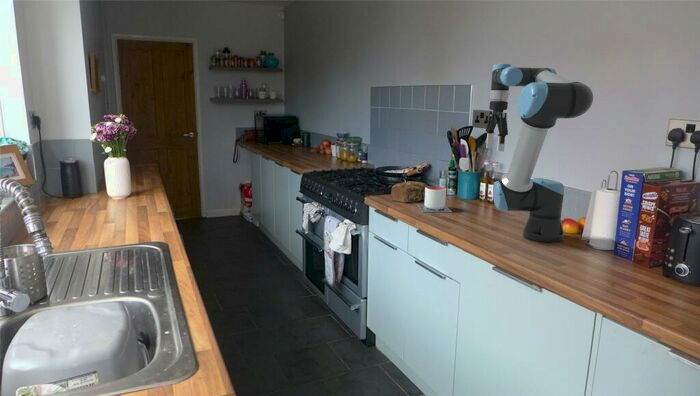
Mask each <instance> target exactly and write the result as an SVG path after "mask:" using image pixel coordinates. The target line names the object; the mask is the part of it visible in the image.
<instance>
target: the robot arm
mask: <svg viewBox="0 0 700 396" xmlns="http://www.w3.org/2000/svg"><path fill="white" fill-rule="evenodd" d="M490 85H491V86H490V94H489V95H490V96H489V99H490V101H489V110H490V111H489V116H488V119H487V123H486V128H485V132H486V133H487V136H486V147H485V149H493V148H494V139H495V138H494V136H495V129H496V126H497V130H498V134H497V136H498V138H497V148H496V149H497V150H496V152H505V143H506V136H508V135H509V130H508V129H509V128H508V121H507V120H508V119H507V116H508V114H507V112H504V111H508V107H509V106H508V105H509V102H508V100H509V95H510V92H509V91H510V87H523V89H522V90H521V91H520V94H519V97H518V101H517V106H516V107H517V113H518V115H519V117H520V121H521V122H522V127H521V128H520V132H519V135H518V139H517V140H516V141H517V142H516V145H515V148H514V150H513V151H514V152H513V155H512V158H511V160H510V161H511V162H510V164H509V167H508V171H507V172H506V173H504V174H503V175H502V176H501V180H497V181H495V182H493V184H492V197H493V204H494V207H495V208H496V209H497V210H498V211H501V212H502V211H503V212H528V213H529V215H528V218H527V220H526V222H525V225H524V227H523V228H522V236H523V237H524V238H526V239H530V240H532V241H536V242H544V243H558V242H562V241H563V240H564V236H565V234H564V229H563V225H562V220H561V218H562V213H563V211H562V210H563V203H564V196H565V185H564V184H563V183H562V182H559V181H556V180H552V179H549V178H548V179H547V178H542V177H534V178H533V177H532V176H533V173H534V171H535V167H536V165H537V162H538V159H539V157H540V154H541V150H542V149H543V146H544V143H545V140H546V137H547V134H548V131H549V130H550V129H552V128H554V127H555V125H556V123H557V120H558V119H574V118H579V117H580V116H582V115H583V114H586V112H588V111H589V109H590V108H591V106H592V104H593V102H594V94H593V91H592V89H591V88H590V86H588V85H587V84H584V83H583V82H580V81H571V80H568V79H566V78H565V77H563V76H560V75H558V73H557V71H556V69H554V68H551V67H523V66H522V67H516V66H511V63H495V64H494V65H492V70H491V83H490ZM491 110H492V111H491ZM532 178H533V179H532Z"/></svg>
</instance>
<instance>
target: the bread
mask: <svg viewBox="0 0 700 396" xmlns="http://www.w3.org/2000/svg"><path fill="white" fill-rule="evenodd" d="M426 187H428V185H427V184H426V183H425V182H421V181H412V180H411V181H410V180H408V181H403V182H397V183H395V184H394V185H393V186H392V187H391V192H390V193H391V200H393V201H394V202H399V203H401V204H407V203H412V202H419V201H423V200H425V188H426Z"/></svg>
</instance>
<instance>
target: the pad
mask: <svg viewBox="0 0 700 396" xmlns="http://www.w3.org/2000/svg"><path fill="white" fill-rule="evenodd" d="M417 207H418V208H419V210H420V211H421V212H422V213H423V214H424V213H425V214H432V213H433V214H452V213H453V211H452V210H451V209H450V208H449V207H448V206H447V205H445V207H444V208H443V209H441V210H432V209H428V208H426V207H425V205H424V204H417Z"/></svg>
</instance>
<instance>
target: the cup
mask: <svg viewBox="0 0 700 396" xmlns="http://www.w3.org/2000/svg"><path fill="white" fill-rule="evenodd" d="M427 186H428V185H427ZM446 199H447V188H446V187H443V186H437V185H436V186H435V185H429V186H428V187H426V188H425V199H424V204H423V205H425V207H426V208H428V209H432V210H441V209H443V208H444V207H445V206H446Z"/></svg>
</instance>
